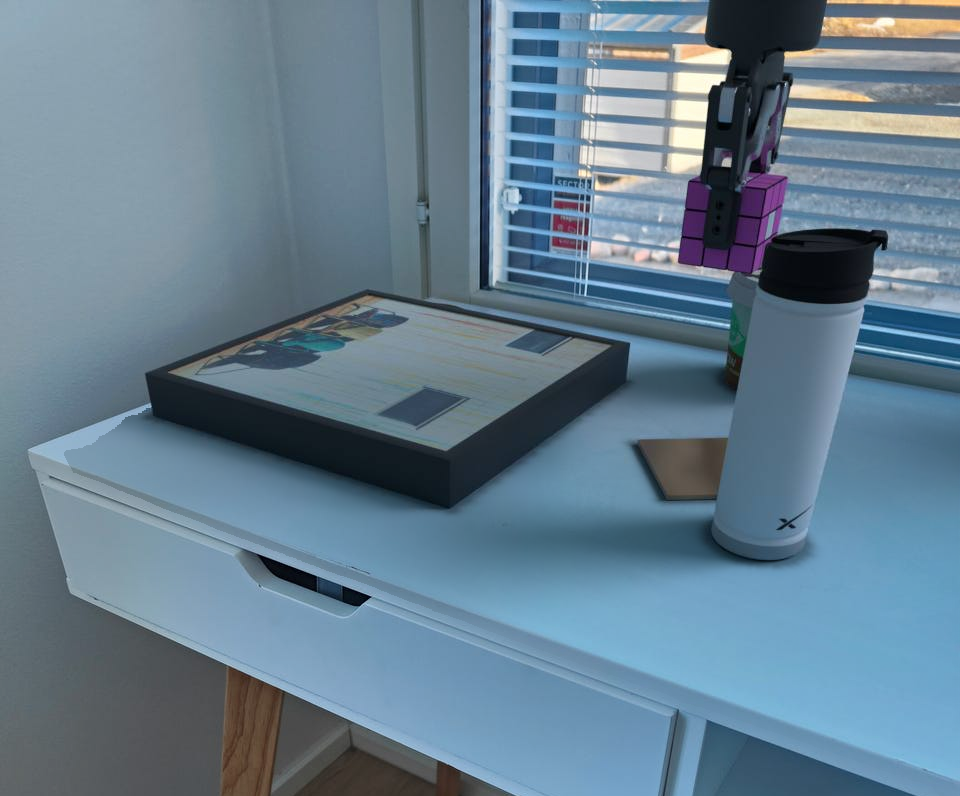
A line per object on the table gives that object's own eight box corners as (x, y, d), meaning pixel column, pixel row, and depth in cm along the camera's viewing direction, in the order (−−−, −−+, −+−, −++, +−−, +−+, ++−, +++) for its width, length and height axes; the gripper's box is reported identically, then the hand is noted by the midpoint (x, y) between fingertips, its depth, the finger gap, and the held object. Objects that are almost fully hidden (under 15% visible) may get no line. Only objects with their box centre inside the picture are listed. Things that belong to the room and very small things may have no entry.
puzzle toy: (676, 263, 70) (687, 180, 66) (702, 247, 74) (713, 168, 70) (751, 274, 67) (766, 188, 64) (773, 257, 71) (788, 176, 68)
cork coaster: (755, 441, 77) (755, 437, 77) (798, 497, 69) (799, 492, 69) (636, 443, 77) (637, 439, 76) (666, 500, 68) (667, 495, 68)
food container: (695, 361, 93) (712, 256, 87) (755, 360, 93) (775, 255, 88) (736, 409, 83) (758, 294, 77) (803, 407, 83) (829, 293, 78)
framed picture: (367, 288, 98) (630, 342, 86) (369, 324, 101) (626, 382, 88) (144, 373, 77) (449, 460, 65) (153, 415, 80) (450, 508, 67)
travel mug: (805, 570, 61) (890, 246, 49) (703, 551, 63) (762, 234, 51) (812, 527, 66) (891, 222, 54) (717, 510, 67) (774, 212, 56)
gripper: (811, -40, 53) (755, 268, 63) (852, -37, 64) (799, 226, 74) (683, -41, 56) (650, 253, 66) (743, -39, 66) (706, 215, 76)
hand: (729, 238), depth 70 cm, fingers closed on puzzle toy, 6 cm apart
